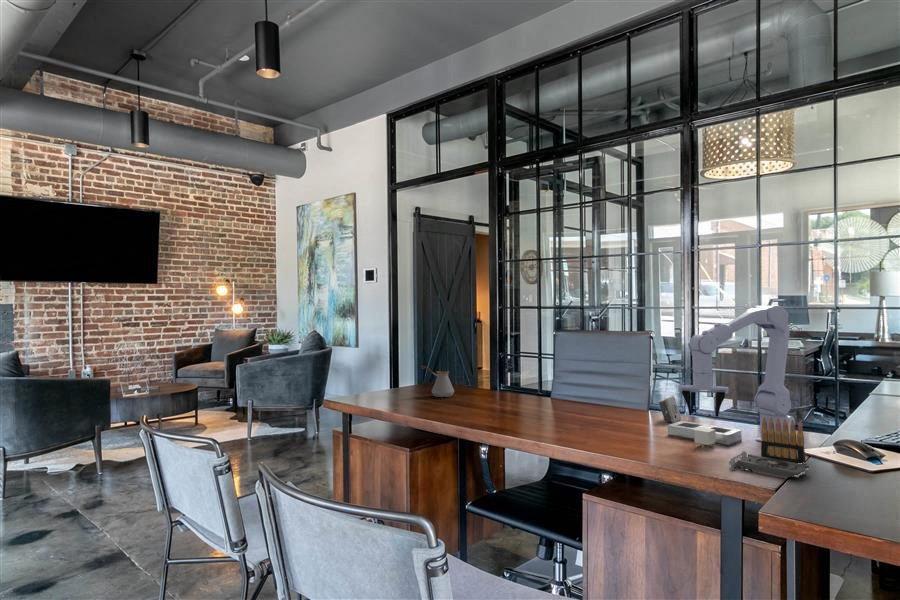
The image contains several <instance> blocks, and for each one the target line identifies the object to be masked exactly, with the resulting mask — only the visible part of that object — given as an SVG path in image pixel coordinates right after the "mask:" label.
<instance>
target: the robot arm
mask: <svg viewBox="0 0 900 600" xmlns="http://www.w3.org/2000/svg"><path fill="white" fill-rule="evenodd" d="M789 315H790V313H788V312H787V310H786V309H785V308H784V307H783V306H781V305H776V304H775V305H754V306H753V307H751V308H748V309H747V310H746V311H745V312H743V313H742V314H740V315H739V316H737V317H736V318H734V319H732V320H730V321H729V322H728V323H723V322H720V323H719V322H717V323H715V324H713V327H711V328H709V329H707V330H703V331H702V333H701V334H695V335H692V337H691V338H690V339H689V342H688V343H687V347H688V349H689V350H690V352H691V356H692V358H691V359H692V384H681V385H680V384H678V385H677V389H678V390H677V391H678V393H681V394H682V396H683V399H684V401H685V403H686V406H687V410H688V416H692V414H693V413H692V405H691V404H692V393H707V394H714V399H715V400H714V402H715V408H714V409H715V410H714V414H715V415H714V416H715V417H719V414H720V410H721V407H722V406H721V405H722V404H723V402H724V399H725V398H726V395H729V391H730V390H729V389H730V388H729V387H728V386H722V385H721V386H718V385H714V384H713V383H714V382H713V381H714V379H713V353H714V352H715V351H716V349H717V348H718V347H719V346H720V345H722V344H725V343H726V342H728V341H729V340H731V339H732V338H733V334H734V333H736V332H738V331H740V330H742V329H744V328H747V327H748V326H751V325H753V324H754V325H756V326H758V327H759V328H761V329H763V330H764V331H765V332H766V333H767V334H768V336H769V338H768V345H767V354H766V355H767V356H766V363H765V372H764V381H763V383H761V384H760V385H759V386H758V387H757V392H756V394H755V396H754V398H753V399H754V400H753V403H754V406H755V407H756V408H757V409H758V412H759V424H760V425H759V429H760V433H759V434H760V437H756V438H755V441H757V442H762V433H761V432H762V421H763V418H764V417H765V418H766V422H767V431H768V432H769V421H770V418H772V419H773V424H774V432H776V421H777V419H778V418H779V420H780V424H781V433H783V422H784V420H785V419H786V421H787V424H788V433H789V443H790V425H791V421H792V420H793V421H794V423H795V424H796V420H795V417H793V416H792V415H788V413H789V412H790V411H791V408H792V401H791V398H790V397H791V395H790V394H791V392H790V391H789V389H788V388H787V387H786V386H785V378H786V377H785V375H786V367H787V360H788V351H789V350H788V349H789V342H790V334H791V333H790V331H791V330H790V327H789V323H788V322H789Z"/></svg>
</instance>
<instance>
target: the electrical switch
mask: <svg viewBox="0 0 900 600" xmlns="http://www.w3.org/2000/svg"><path fill="white" fill-rule="evenodd" d="M677 403H678V402H677V400H676V397H675V396H674V395H670V396H669V397H666V398H665V399H663V400H661V401H659V402H658V404H659V407H660V410H661V414H662V417H663V420H664V423H669V422H670V423H671V424H673V423H677V422H680V420H682V415H681V412H680V410H679V406H678V404H677Z"/></svg>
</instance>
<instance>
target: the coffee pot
mask: <svg viewBox="0 0 900 600" xmlns="http://www.w3.org/2000/svg"><path fill="white" fill-rule="evenodd" d="M421 369H422V370H427V372H429V373H431V374H433V376H435V377H436V379H435V382H434V385H433V386H432V389H431V394H432V395H433V396H434V397H435V396H436V397H449V396H451V397H452V396H453V395H454V393H455V389H454V387H453V384H452V382H451V380H450V378H449V373H450V371H449V370H438V371H436V373H435V372H434V371H433V370H431V368H428V367H427V366H425V365H422V366H421ZM436 397H435V398H436Z"/></svg>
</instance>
